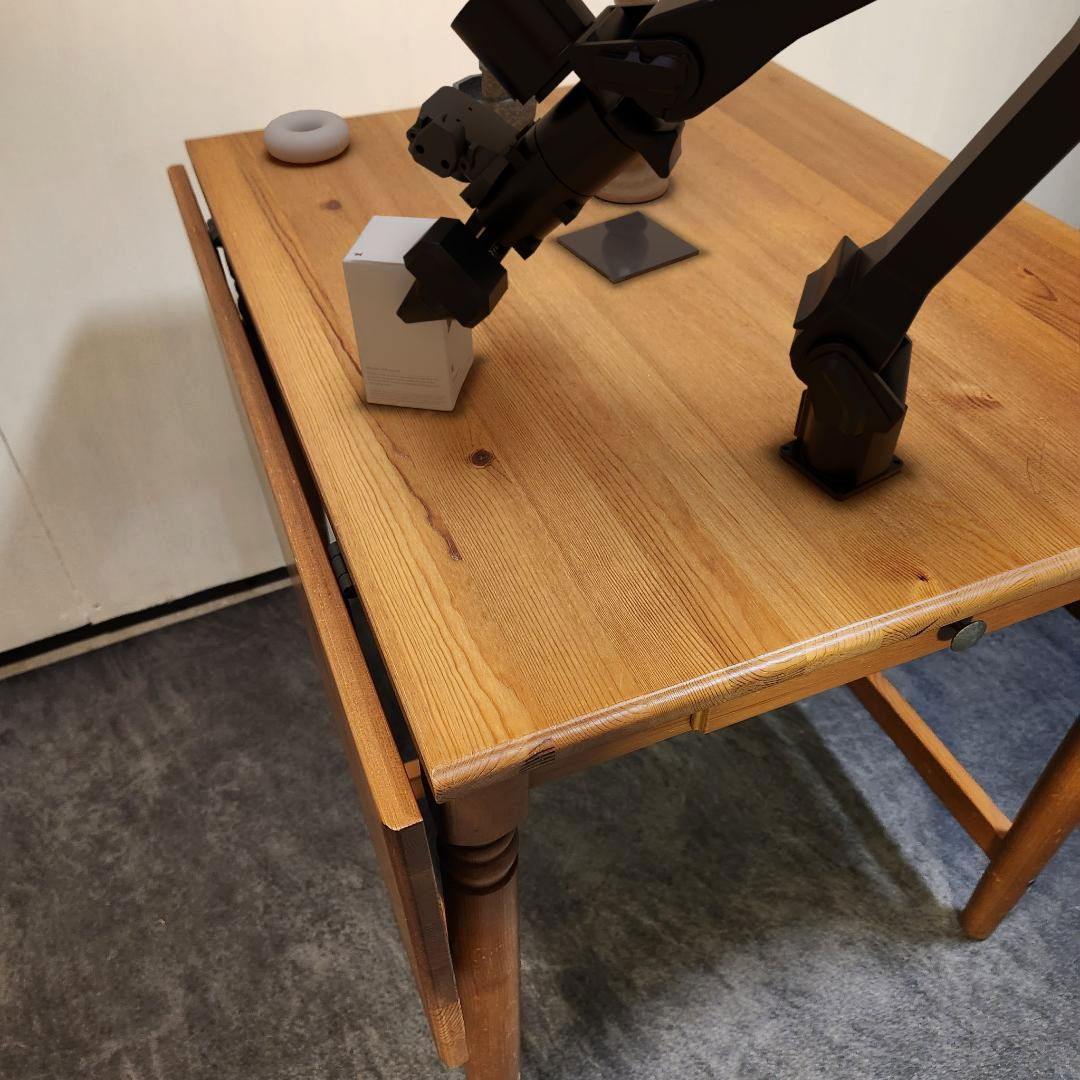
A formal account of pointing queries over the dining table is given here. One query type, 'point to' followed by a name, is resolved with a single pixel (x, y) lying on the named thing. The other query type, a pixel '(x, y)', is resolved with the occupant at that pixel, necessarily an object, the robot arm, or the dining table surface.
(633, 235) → the slate coaster
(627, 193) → the candle holder
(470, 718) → the dining table surface
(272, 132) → the donut
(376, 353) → the white packaging box
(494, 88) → the mortar and pestle
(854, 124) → the dining table surface
